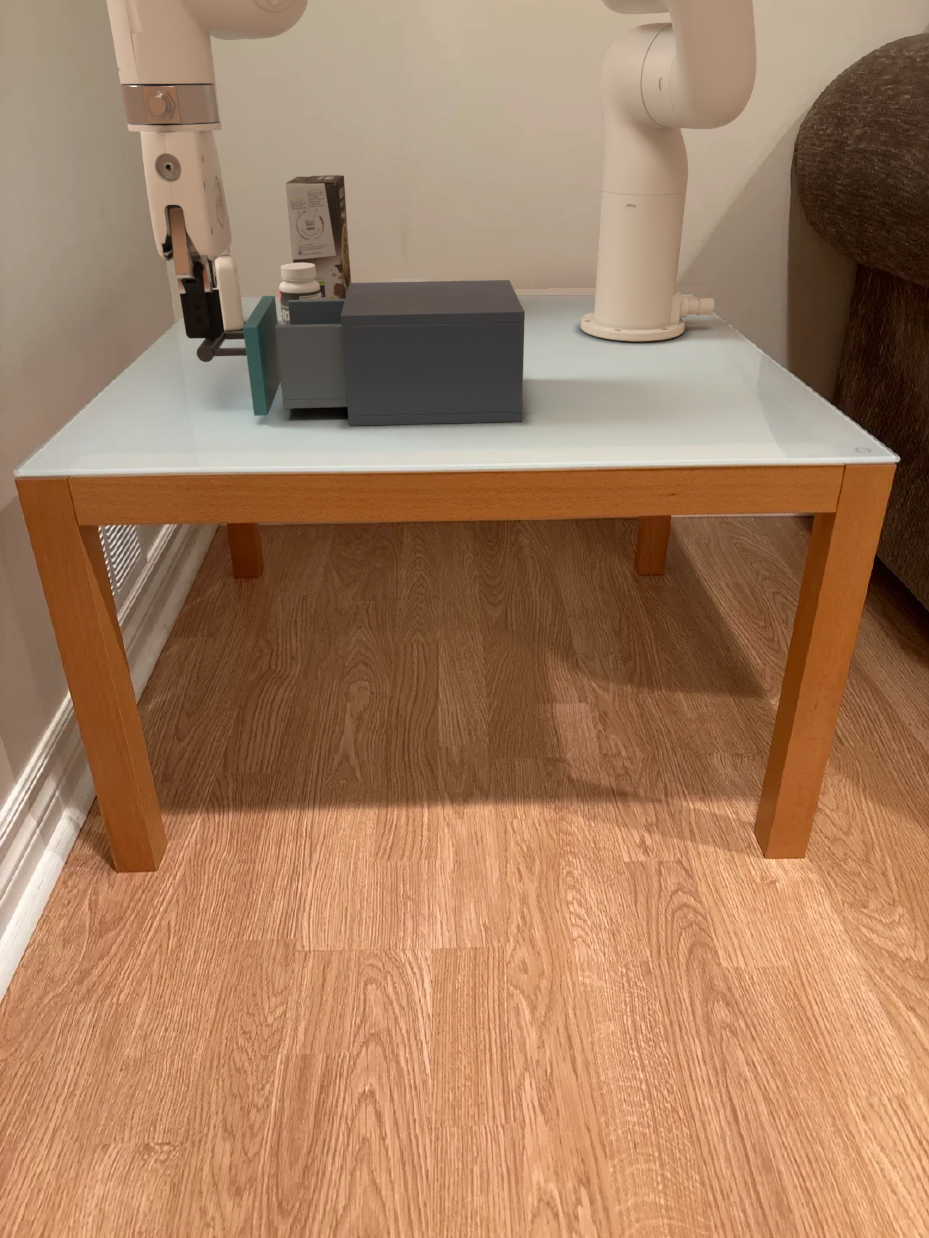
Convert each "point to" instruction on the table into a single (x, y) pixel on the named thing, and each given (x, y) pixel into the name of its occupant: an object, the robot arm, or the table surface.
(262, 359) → the drawer
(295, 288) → the pill bottle
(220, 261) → the eye dropper bottle
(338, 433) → the table surface
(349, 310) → the cabinet
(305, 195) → the coffee box
